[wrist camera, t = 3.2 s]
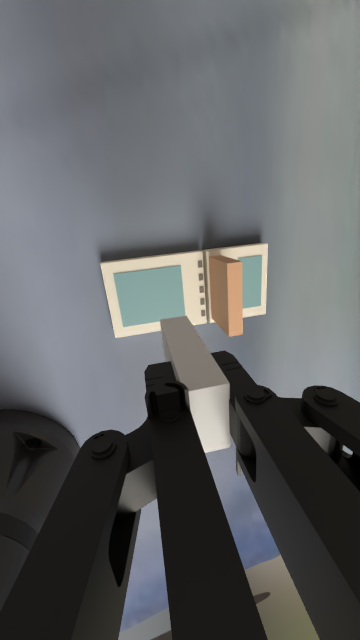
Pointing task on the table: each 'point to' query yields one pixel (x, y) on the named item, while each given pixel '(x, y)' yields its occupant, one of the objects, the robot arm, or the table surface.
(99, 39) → the table surface
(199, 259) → the cream tablet with screen
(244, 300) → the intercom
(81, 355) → the table surface
